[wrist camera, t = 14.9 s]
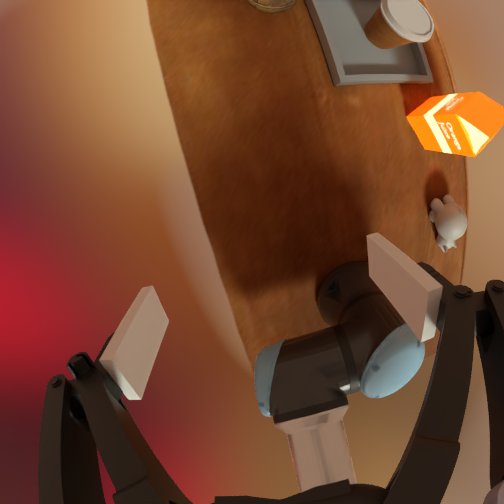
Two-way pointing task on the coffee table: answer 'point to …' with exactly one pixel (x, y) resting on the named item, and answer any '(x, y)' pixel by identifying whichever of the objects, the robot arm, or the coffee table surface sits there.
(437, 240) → the round bodied animal figurine
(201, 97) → the coffee table surface
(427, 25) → the disposable coffee cup
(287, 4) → the wooden mug
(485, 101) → the orange juice
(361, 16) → the tray
